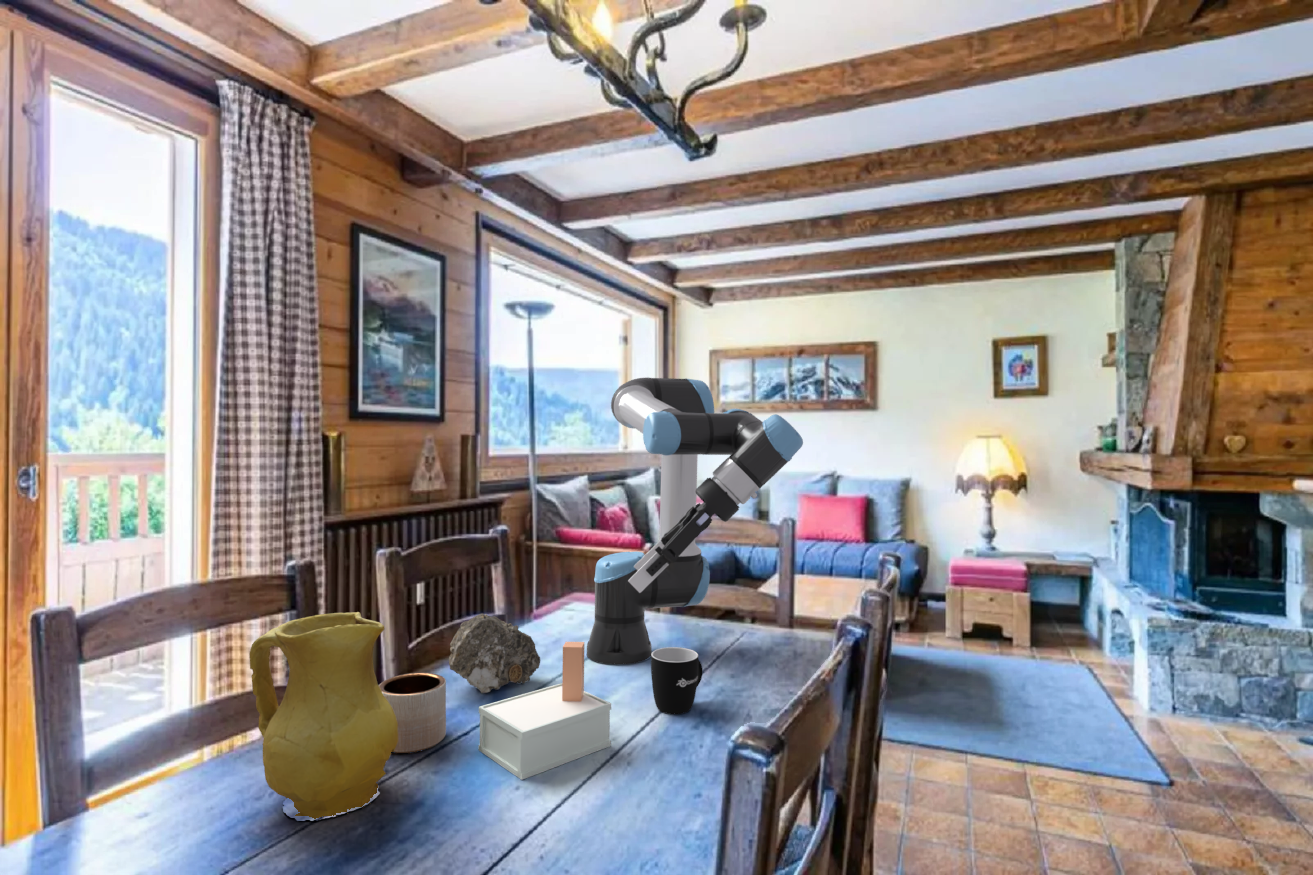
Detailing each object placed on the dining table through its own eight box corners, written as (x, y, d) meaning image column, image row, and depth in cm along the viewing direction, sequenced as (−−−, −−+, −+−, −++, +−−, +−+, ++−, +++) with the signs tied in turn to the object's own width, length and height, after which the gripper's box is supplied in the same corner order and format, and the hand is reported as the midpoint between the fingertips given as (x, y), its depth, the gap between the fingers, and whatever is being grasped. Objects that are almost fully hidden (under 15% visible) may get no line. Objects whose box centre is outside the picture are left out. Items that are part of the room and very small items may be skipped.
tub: (564, 721, 123) (565, 682, 123) (610, 745, 114) (611, 703, 114) (478, 750, 112) (478, 706, 112) (521, 780, 102) (522, 732, 102)
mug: (674, 722, 124) (675, 665, 124) (640, 707, 130) (641, 653, 130) (718, 704, 132) (718, 651, 132) (683, 691, 138) (684, 641, 138)
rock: (496, 612, 133) (474, 583, 145) (441, 672, 129) (424, 637, 142) (557, 661, 141) (531, 630, 154) (507, 719, 138) (485, 682, 151)
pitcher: (309, 845, 85) (311, 638, 86) (230, 808, 94) (233, 623, 96) (423, 790, 99) (424, 613, 100) (344, 763, 109) (346, 602, 110)
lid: (564, 689, 122) (564, 634, 122) (605, 709, 114) (606, 649, 114) (484, 713, 112) (485, 652, 112) (523, 736, 103) (524, 670, 103)
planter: (459, 732, 118) (459, 676, 118) (417, 760, 108) (418, 699, 108) (406, 723, 122) (407, 668, 122) (361, 749, 112) (362, 690, 112)
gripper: (748, 513, 104) (648, 612, 105) (735, 501, 129) (654, 580, 130) (713, 478, 105) (614, 576, 105) (707, 472, 130) (626, 552, 130)
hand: (636, 579), depth 117 cm, fingers open, 13 cm apart
